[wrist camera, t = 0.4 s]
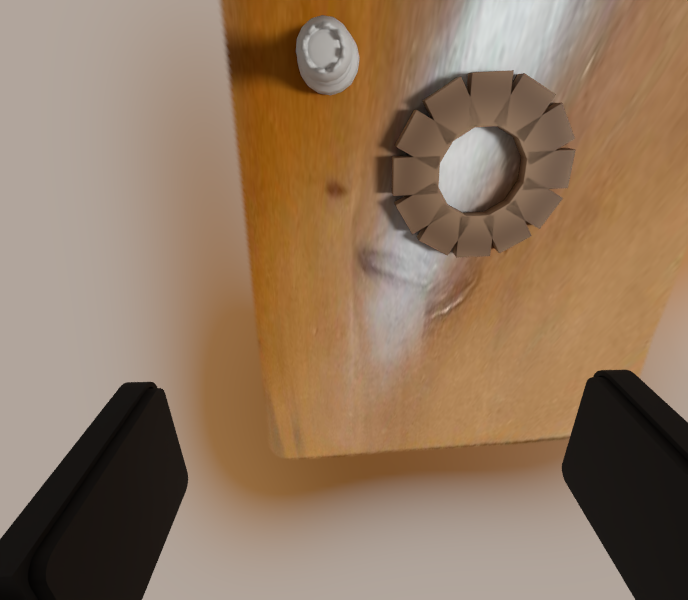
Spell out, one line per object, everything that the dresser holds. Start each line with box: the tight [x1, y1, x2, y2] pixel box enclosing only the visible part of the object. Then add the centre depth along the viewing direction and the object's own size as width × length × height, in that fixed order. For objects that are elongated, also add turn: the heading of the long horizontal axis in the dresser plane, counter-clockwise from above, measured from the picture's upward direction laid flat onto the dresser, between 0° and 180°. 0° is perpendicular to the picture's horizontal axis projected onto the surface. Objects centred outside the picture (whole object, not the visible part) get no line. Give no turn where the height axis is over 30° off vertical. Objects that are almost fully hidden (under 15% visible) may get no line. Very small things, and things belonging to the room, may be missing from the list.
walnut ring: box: [392, 70, 575, 257], centre depth 32 cm, size 14×14×1 cm
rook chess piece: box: [296, 15, 359, 95], centre depth 26 cm, size 4×4×8 cm
